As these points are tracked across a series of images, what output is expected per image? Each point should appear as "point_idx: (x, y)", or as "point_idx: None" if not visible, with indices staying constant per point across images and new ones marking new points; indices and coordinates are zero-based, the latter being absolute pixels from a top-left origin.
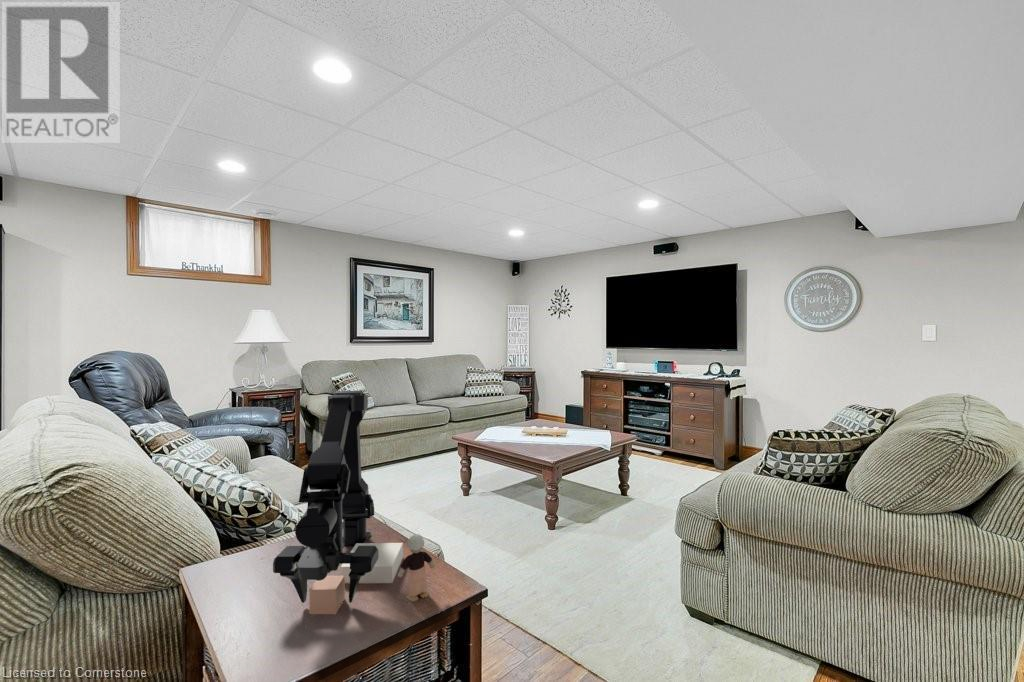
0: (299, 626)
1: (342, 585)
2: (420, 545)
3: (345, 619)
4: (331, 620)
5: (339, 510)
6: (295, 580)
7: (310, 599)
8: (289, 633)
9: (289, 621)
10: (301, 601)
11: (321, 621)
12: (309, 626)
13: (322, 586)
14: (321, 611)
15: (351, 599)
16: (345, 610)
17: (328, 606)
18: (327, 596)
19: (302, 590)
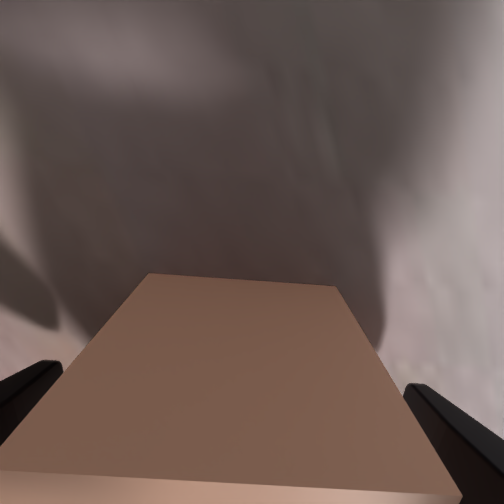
0: (379, 149)
1: None
2: None
3: (49, 211)
4: (152, 207)
5: None
6: None
7: (371, 363)
8: (445, 51)
9: (465, 221)
10: (433, 390)
11: (224, 201)
12: (299, 142)
13: None
14: (250, 290)
15: (15, 374)
16: (101, 313)
17: (186, 307)
18: (171, 379)
19: (499, 490)
